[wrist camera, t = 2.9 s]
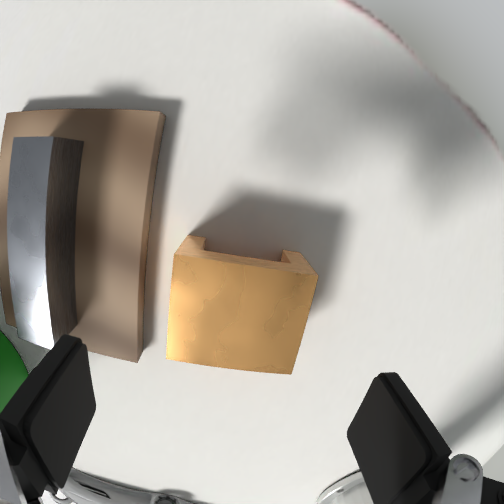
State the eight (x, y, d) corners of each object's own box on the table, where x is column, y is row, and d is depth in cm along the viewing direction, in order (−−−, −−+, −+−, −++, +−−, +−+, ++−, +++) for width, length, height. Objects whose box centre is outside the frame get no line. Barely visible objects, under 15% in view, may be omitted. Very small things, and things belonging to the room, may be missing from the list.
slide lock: (280, 335, 20) (291, 374, 16) (178, 321, 20) (166, 358, 15) (299, 252, 19) (318, 275, 15) (188, 234, 18) (174, 253, 14)
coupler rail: (77, 324, 18) (54, 350, 14) (43, 315, 18) (18, 337, 14) (84, 141, 15) (53, 136, 12) (46, 140, 15) (13, 137, 11)
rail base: (142, 351, 20) (137, 362, 19) (15, 316, 19) (6, 323, 18) (165, 116, 16) (160, 111, 15) (18, 115, 15) (6, 113, 14)
